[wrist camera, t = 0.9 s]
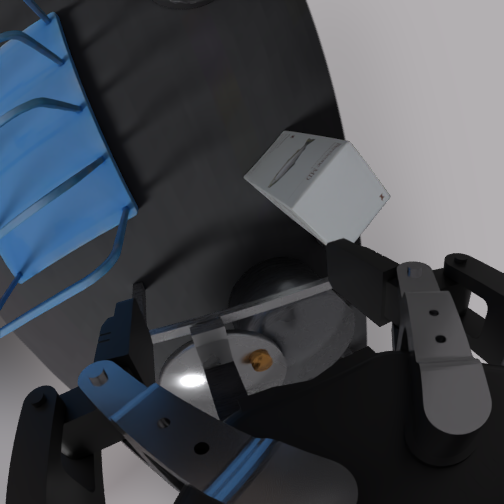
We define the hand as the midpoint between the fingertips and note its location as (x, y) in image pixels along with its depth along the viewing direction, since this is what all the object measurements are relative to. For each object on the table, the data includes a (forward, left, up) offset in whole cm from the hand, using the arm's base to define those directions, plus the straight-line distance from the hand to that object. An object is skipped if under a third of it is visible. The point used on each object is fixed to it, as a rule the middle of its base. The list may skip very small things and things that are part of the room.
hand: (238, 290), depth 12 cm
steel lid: (+18, -1, -11) cm, 22 cm away
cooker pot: (+18, +4, -22) cm, 29 cm away
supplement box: (+1, +12, -22) cm, 25 cm away
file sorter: (-9, -16, -22) cm, 29 cm away
